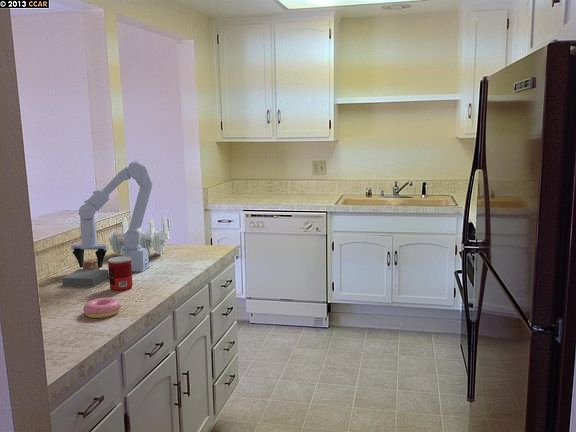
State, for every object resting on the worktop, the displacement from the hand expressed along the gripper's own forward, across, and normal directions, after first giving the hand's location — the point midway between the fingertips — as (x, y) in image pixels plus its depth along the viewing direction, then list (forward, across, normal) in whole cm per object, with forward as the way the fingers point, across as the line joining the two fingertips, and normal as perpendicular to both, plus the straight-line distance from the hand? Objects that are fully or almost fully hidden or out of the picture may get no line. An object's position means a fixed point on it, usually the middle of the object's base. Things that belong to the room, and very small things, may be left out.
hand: (91, 267), depth 207 cm
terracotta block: (+2, 0, 0) cm, 2 cm away
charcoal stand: (+2, +4, -12) cm, 13 cm away
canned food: (+2, +21, -19) cm, 28 cm away
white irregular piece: (+2, +9, +30) cm, 31 cm away
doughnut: (+3, +26, -44) cm, 51 cm away
